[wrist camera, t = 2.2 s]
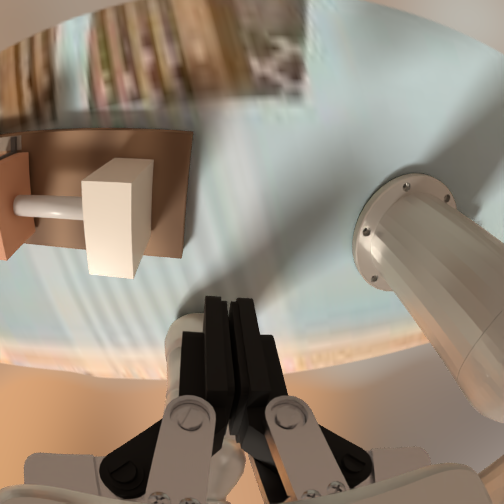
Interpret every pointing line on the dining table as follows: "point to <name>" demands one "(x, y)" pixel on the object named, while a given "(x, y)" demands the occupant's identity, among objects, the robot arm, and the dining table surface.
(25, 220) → the block
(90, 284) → the dining table surface
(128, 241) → the plunger
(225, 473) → the plastic bottle
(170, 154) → the base
